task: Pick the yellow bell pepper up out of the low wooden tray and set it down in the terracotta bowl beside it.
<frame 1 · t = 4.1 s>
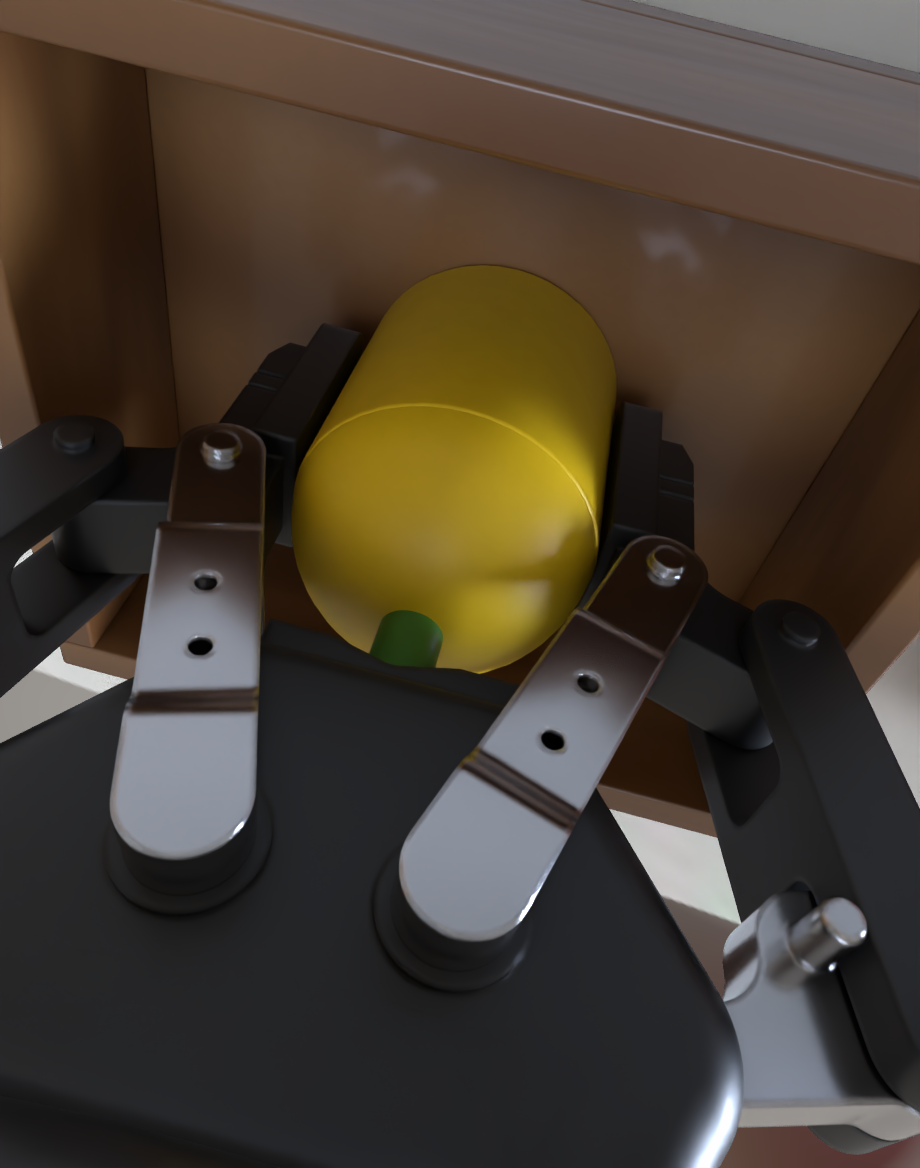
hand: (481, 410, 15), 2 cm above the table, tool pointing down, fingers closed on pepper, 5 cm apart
pepper: (491, 385, 16), point 1 cm above the table, touching wooden tray, gripper
wooden tray: (497, 365, 16), on the table
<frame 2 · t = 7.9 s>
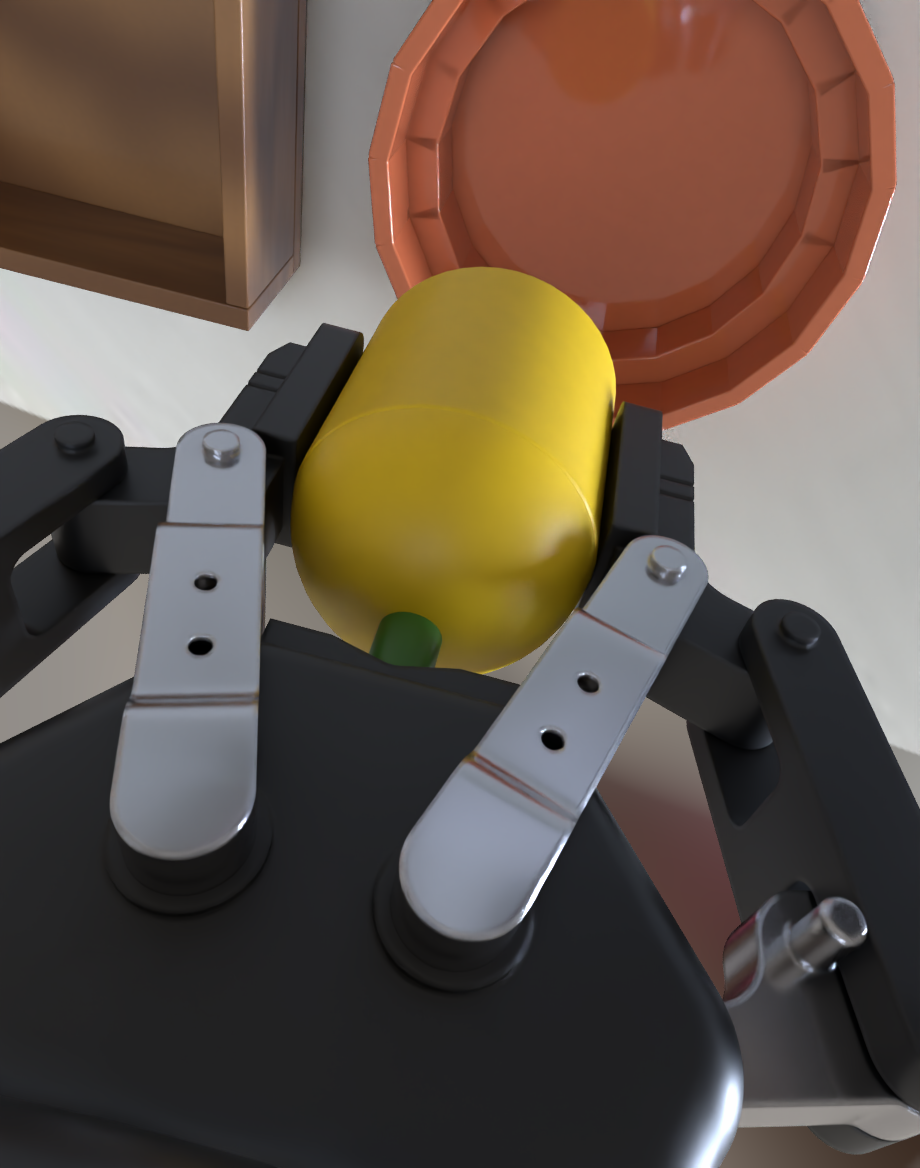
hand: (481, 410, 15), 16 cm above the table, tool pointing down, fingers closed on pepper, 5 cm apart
pepper: (490, 387, 16), point 15 cm above the table, touching gripper
wooden tray: (90, 28, 27), on the table
bowl: (623, 160, 27), on the table
when the fingers open (1 cm above the table, at t = 11.7 s): pepper stays where it is, resting on bowl.
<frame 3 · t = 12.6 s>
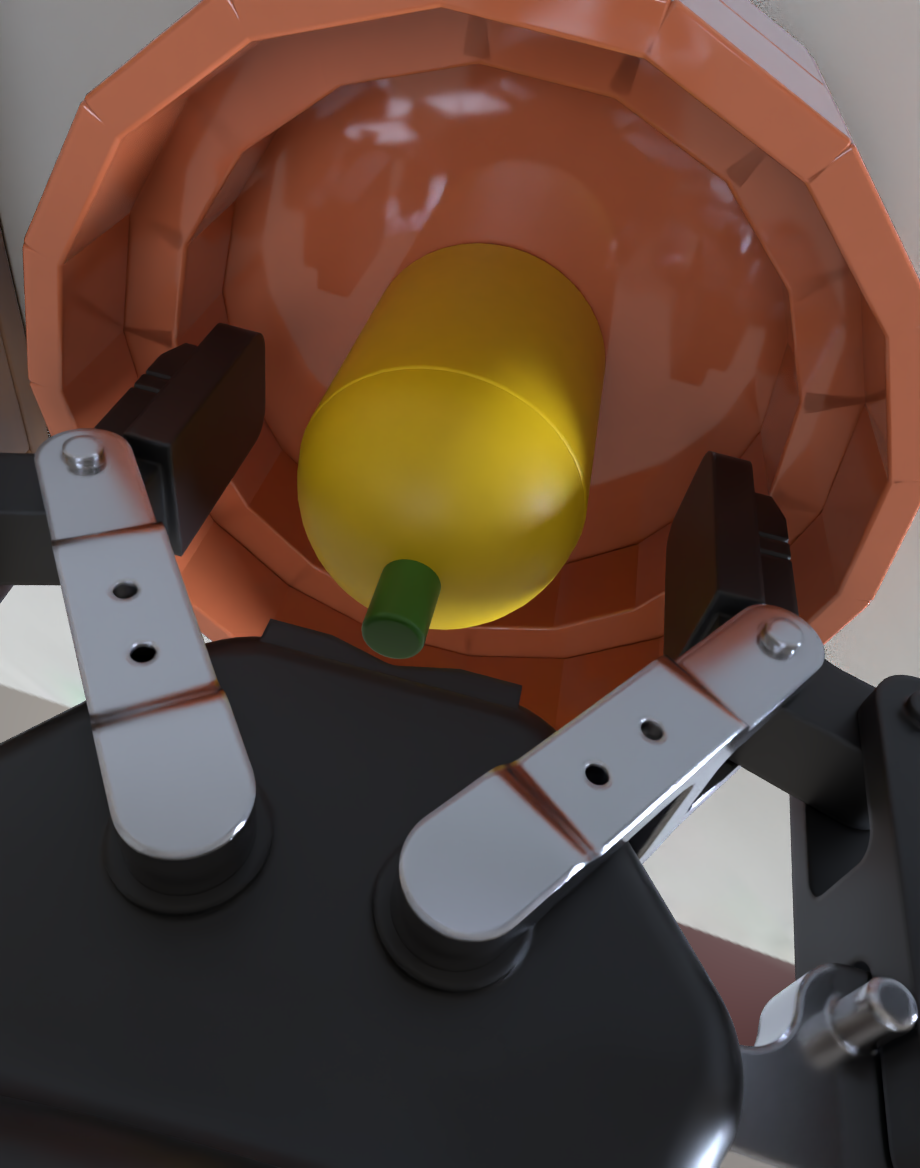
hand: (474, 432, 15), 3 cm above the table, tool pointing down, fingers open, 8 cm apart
pepper: (485, 360, 17), point 1 cm above the table, touching bowl
bowl: (495, 345, 17), on the table
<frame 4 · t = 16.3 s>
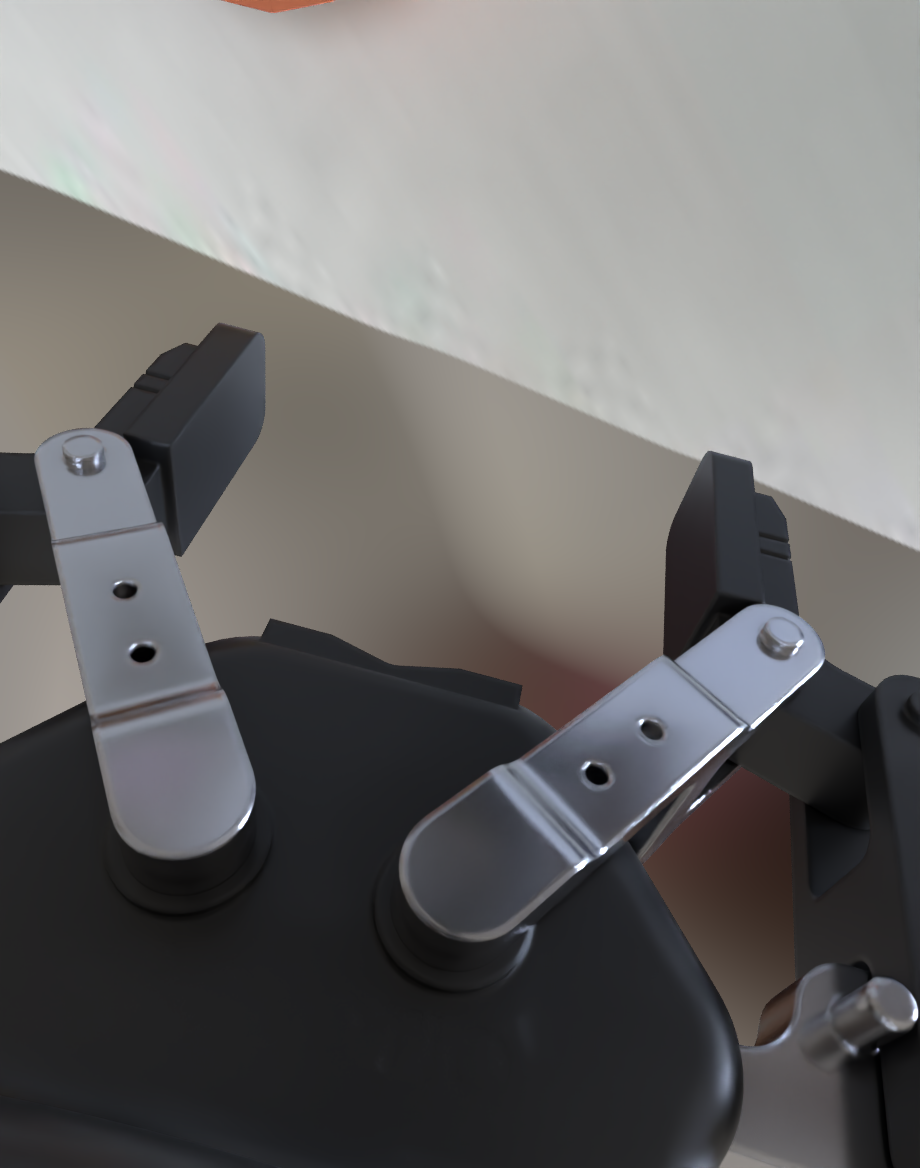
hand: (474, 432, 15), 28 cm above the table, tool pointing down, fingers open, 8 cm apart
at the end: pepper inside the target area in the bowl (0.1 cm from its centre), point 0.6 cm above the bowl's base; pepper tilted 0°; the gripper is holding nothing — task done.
